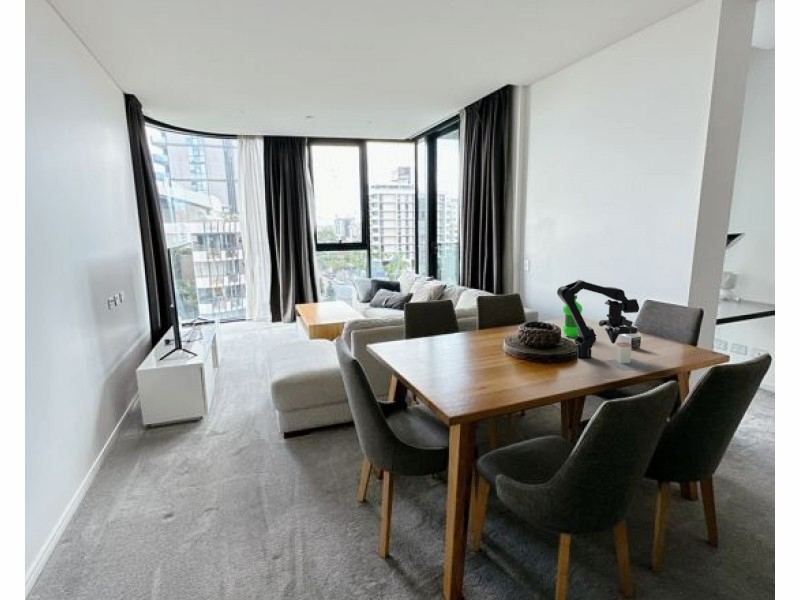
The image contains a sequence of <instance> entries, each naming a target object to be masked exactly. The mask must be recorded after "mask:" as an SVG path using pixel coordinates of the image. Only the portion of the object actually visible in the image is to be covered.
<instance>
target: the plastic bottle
mask: <svg viewBox="0 0 800 600" xmlns="http://www.w3.org/2000/svg"><path fill="white" fill-rule="evenodd" d="M574 296H575V303H576V305H577V307H578V309H579V311H580V313H581V314H582V313H583V305H581V304H580V303H579V302H578V301H577V299H578V295H577V294H575V295H574ZM562 310H563V313H564V314H565V319H564V322H565V323H564V326H563V328H562V329H563V330H562V332H563V333H564V335H566V336H567V337H568V336H569V338H577V337H578V336H579V334H578V327H577V325H576V323H575V322H574V320H573V318H572V316H571V314H570V312H569V310H568V308H567V306H566V304H564V306H563V309H562Z"/></svg>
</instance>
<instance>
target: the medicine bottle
mask: <svg viewBox="0 0 800 600" xmlns="http://www.w3.org/2000/svg"><path fill="white" fill-rule="evenodd" d="M625 327H628V326H625ZM628 328H629V329H630V330H631V334H619V336H620V337H619V343H625V342H627V343H629V344H631V345H632V347H631V350H635V349H639V348H640V349H641V342H642V335H639V334H638V328H639V327H637V326H635V325H632V326H631V328H630V327H628Z"/></svg>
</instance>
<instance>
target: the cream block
mask: <svg viewBox="0 0 800 600" xmlns="http://www.w3.org/2000/svg"><path fill="white" fill-rule="evenodd" d="M631 347H632V345H631V344H629V343H627V342H625V343H620V342H616V347H615V348H616V349H615V359H616V361H617V362H619V363H630V362H631V359H632V349H631Z"/></svg>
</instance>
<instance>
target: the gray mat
mask: <svg viewBox="0 0 800 600" xmlns="http://www.w3.org/2000/svg"><path fill="white" fill-rule="evenodd" d="M605 361H606V362H607V363H608V364H610V365H612V366H614V367H616V368H617V369H620V370H621V371H638V370H642V371H643V370H653V369H652V368H651V367H650V366H648V365H646V364H644V363H642V362H640V361H638V360H636V359H634V358H631V362H630V363H619V362H617V361H616V358H615V359H605Z"/></svg>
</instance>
